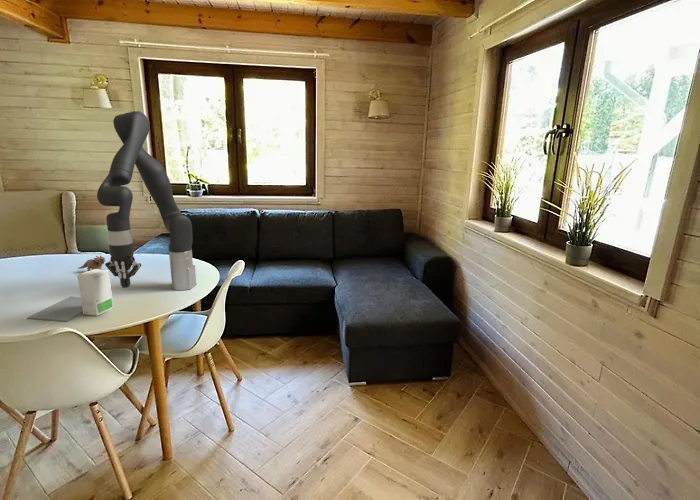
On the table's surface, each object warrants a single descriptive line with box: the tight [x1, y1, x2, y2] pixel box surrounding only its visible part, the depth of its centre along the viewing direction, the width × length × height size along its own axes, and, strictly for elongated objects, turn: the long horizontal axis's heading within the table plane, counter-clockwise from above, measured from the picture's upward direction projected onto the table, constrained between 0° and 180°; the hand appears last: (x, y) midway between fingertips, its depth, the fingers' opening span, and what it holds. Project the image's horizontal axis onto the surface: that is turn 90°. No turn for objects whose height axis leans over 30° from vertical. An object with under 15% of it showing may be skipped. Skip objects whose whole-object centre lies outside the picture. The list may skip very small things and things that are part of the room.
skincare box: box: [76, 268, 114, 317], centre depth 143 cm, size 8×7×16 cm
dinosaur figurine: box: [77, 255, 106, 271], centre depth 185 cm, size 14×6×9 cm, turn 89°
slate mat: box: [26, 296, 83, 323], centre depth 146 cm, size 15×20×1 cm
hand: (125, 287), depth 142 cm, fingers closed
